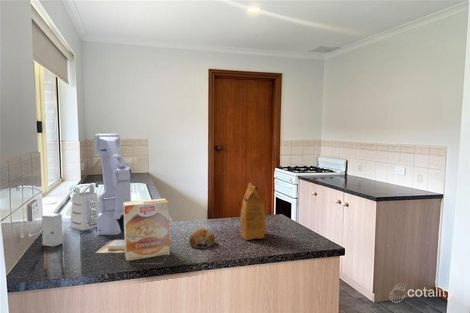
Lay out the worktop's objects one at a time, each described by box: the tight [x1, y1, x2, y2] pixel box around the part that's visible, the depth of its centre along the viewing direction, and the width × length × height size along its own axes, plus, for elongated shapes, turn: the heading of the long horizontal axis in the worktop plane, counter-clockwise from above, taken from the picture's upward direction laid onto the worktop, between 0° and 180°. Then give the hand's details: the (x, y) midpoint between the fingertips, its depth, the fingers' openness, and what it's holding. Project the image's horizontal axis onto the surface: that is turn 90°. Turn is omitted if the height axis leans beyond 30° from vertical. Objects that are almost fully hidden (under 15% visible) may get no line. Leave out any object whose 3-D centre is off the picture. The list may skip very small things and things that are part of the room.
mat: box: [94, 239, 125, 254], centre depth 125 cm, size 14×14×1 cm
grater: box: [69, 183, 100, 231], centre depth 155 cm, size 10×10×20 cm
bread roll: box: [188, 228, 216, 249], centre depth 127 cm, size 10×10×8 cm
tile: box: [107, 239, 125, 250], centre depth 125 cm, size 7×2×7 cm
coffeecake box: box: [123, 198, 171, 261], centre depth 116 cm, size 15×7×20 cm, turn 114°
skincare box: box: [41, 212, 63, 247], centre depth 130 cm, size 6×4×12 cm
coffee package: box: [239, 182, 266, 241], centre depth 135 cm, size 10×12×22 cm
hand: (124, 232), depth 129 cm, fingers closed
